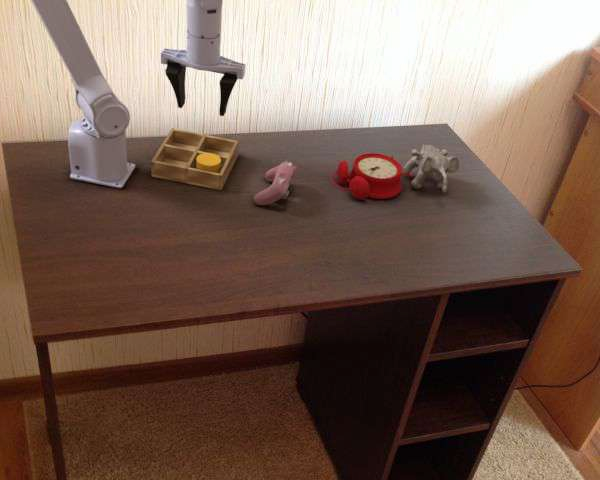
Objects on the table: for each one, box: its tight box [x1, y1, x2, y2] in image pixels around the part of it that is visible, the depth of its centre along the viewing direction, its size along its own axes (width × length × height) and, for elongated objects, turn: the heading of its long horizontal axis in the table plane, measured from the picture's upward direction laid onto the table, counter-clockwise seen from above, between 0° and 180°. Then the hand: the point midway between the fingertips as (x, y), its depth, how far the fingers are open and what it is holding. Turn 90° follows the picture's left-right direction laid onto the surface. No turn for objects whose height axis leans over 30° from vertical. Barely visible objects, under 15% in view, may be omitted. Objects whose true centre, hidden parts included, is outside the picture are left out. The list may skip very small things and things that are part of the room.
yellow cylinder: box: [196, 153, 221, 174], centre depth 137 cm, size 4×4×3 cm
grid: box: [150, 127, 240, 191], centre depth 139 cm, size 13×13×3 cm
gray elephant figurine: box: [402, 144, 460, 194], centre depth 142 cm, size 9×12×8 cm
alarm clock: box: [330, 152, 414, 201], centre depth 141 cm, size 10×6×15 cm
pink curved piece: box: [253, 160, 298, 206], centre depth 135 cm, size 10×5×7 cm, turn 168°
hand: (202, 109), depth 136 cm, fingers open, 7 cm apart
